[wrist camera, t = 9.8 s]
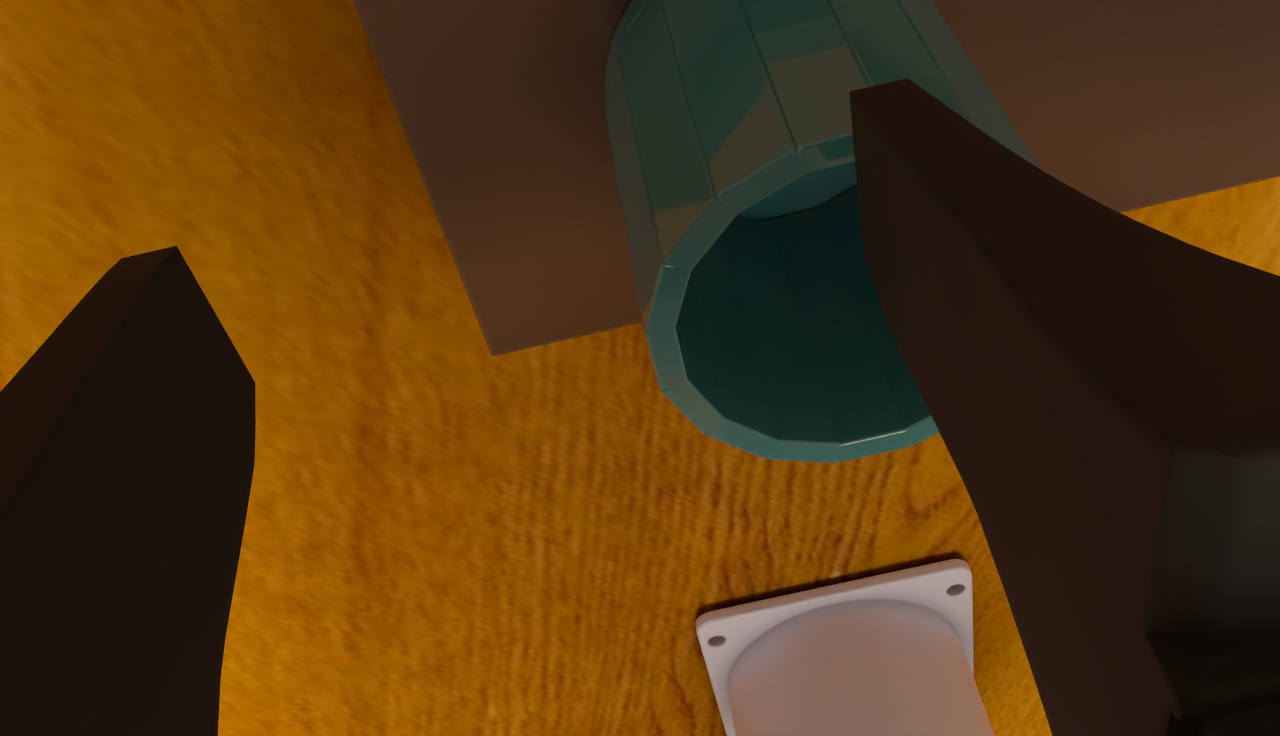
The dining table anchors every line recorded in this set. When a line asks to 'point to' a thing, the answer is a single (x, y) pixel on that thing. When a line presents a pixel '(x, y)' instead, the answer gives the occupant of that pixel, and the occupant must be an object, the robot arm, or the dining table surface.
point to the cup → (771, 211)
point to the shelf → (583, 162)
